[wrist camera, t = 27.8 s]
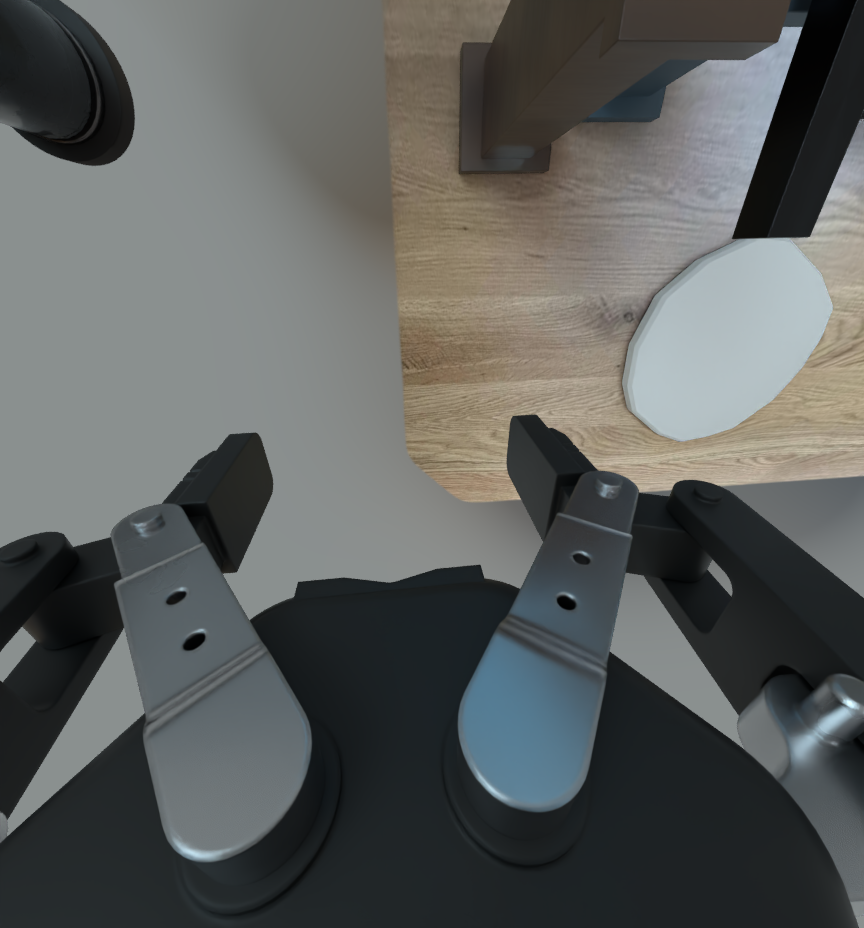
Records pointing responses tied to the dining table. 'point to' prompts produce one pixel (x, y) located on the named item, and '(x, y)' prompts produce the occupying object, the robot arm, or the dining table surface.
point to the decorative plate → (725, 338)
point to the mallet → (809, 125)
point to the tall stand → (585, 66)
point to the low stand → (667, 82)
